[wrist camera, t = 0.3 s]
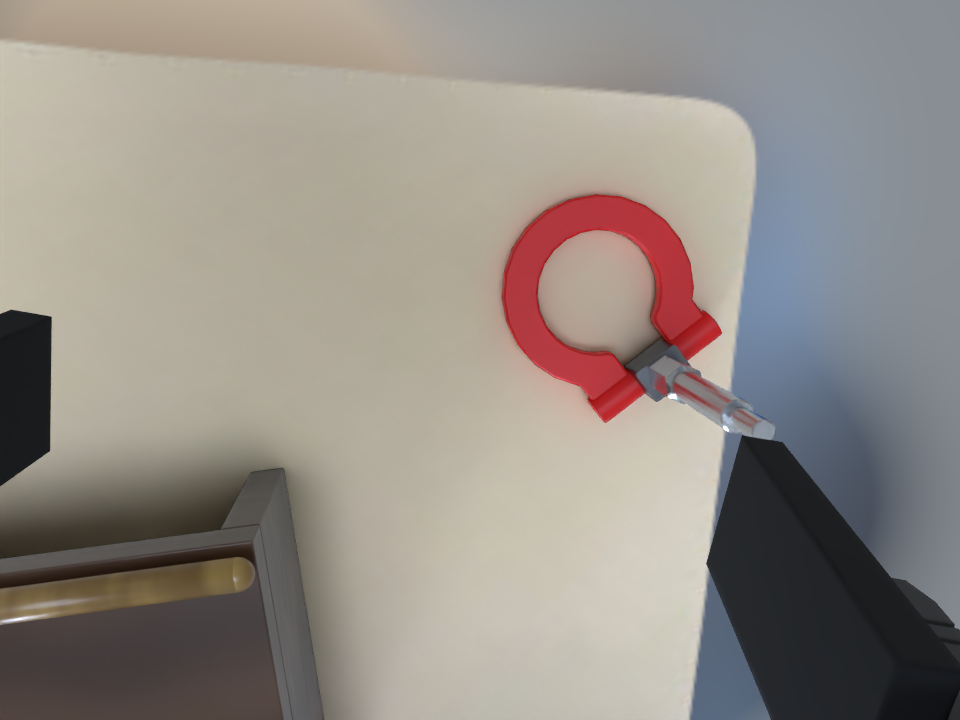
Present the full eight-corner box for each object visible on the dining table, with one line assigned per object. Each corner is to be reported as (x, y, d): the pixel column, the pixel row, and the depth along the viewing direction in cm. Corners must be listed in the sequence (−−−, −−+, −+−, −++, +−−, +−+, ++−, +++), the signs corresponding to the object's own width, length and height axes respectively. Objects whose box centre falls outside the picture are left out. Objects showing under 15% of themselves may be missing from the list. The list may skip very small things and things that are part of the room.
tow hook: (463, 274, 36) (586, 432, 38) (485, 299, 24) (669, 535, 25) (613, 156, 36) (731, 321, 38) (718, 117, 23) (890, 367, 25)
